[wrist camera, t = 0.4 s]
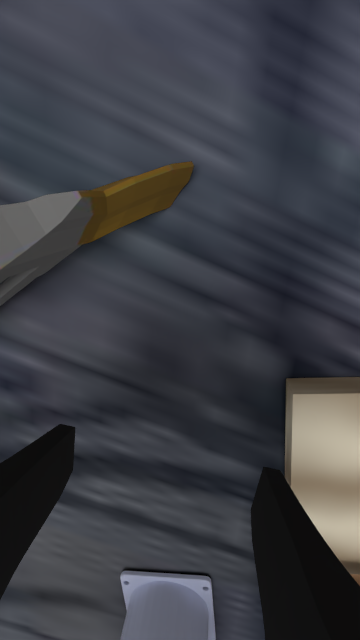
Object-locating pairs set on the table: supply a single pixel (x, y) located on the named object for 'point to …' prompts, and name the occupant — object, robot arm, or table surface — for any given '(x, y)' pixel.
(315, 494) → the board
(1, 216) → the gun
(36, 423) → the table surface
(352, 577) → the robot arm
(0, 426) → the table surface
